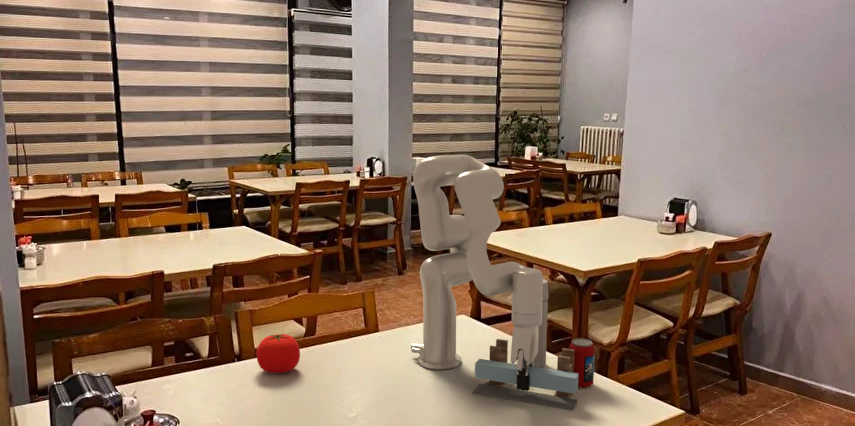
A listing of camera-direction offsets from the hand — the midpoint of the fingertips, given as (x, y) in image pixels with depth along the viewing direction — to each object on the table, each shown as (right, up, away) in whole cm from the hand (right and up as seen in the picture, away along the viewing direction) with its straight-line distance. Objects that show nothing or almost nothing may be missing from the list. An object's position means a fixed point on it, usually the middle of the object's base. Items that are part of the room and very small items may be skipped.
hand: (525, 385), depth 176 cm
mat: (0, -3, +1) cm, 3 cm away
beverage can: (+16, -2, +9) cm, 19 cm away
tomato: (-67, 0, +17) cm, 69 cm away
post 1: (-6, -2, +10) cm, 12 cm away
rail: (0, +1, 0) cm, 1 cm away
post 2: (+11, -3, +3) cm, 12 cm away
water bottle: (+5, 0, +23) cm, 24 cm away
